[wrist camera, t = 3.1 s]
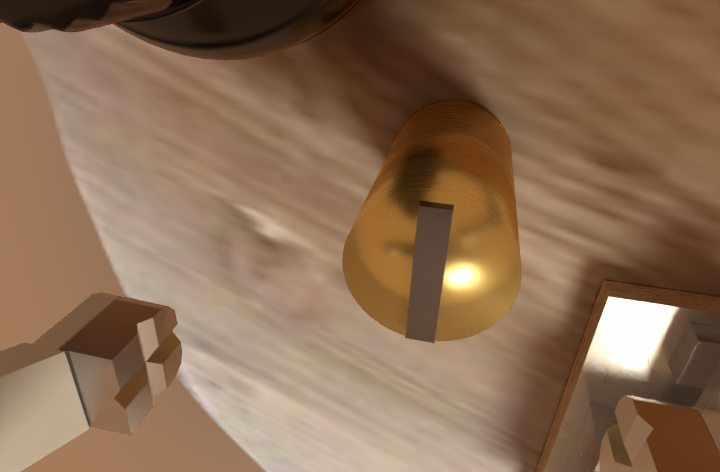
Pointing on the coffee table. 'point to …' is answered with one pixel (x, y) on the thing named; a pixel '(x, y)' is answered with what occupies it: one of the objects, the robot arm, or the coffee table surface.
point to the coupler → (439, 228)
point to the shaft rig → (634, 366)
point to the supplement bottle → (190, 22)
